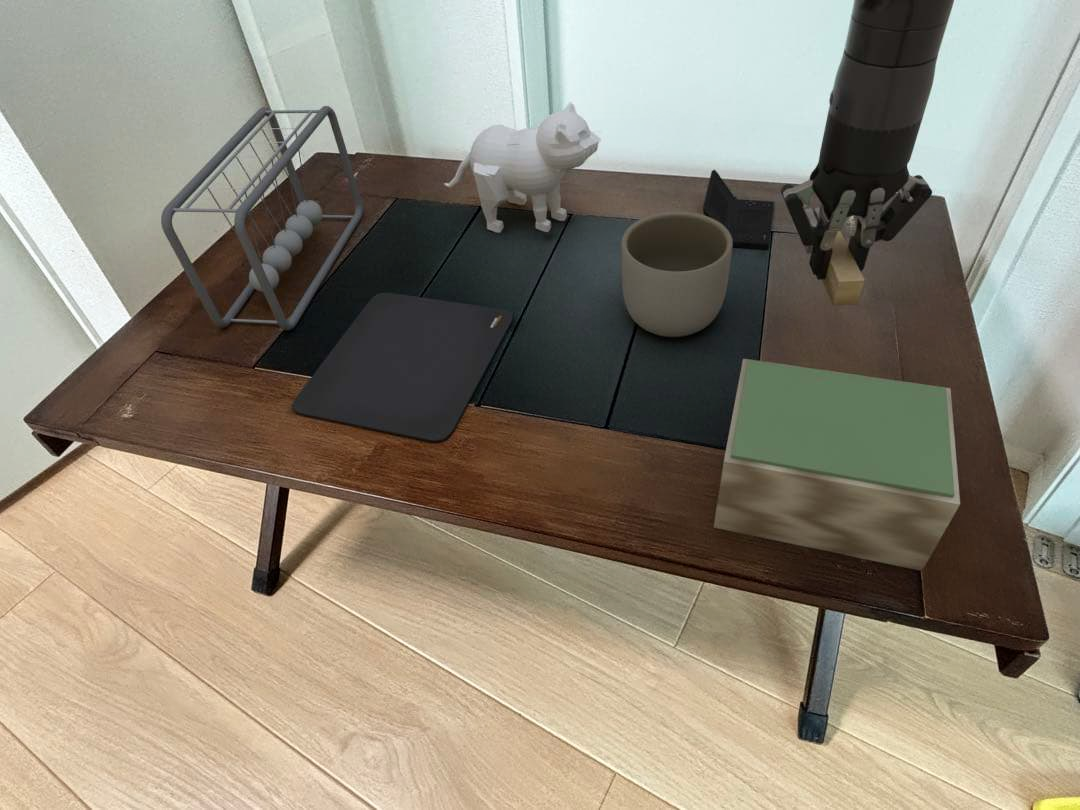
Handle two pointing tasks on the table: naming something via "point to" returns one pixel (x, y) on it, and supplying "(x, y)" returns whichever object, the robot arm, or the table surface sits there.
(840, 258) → the fork
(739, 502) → the stand
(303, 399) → the mouse pad
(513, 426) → the table surface
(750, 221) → the handheld gaming console
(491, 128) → the cat figurine
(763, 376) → the green rectangular slab
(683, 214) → the planter
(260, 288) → the newton's cradle
